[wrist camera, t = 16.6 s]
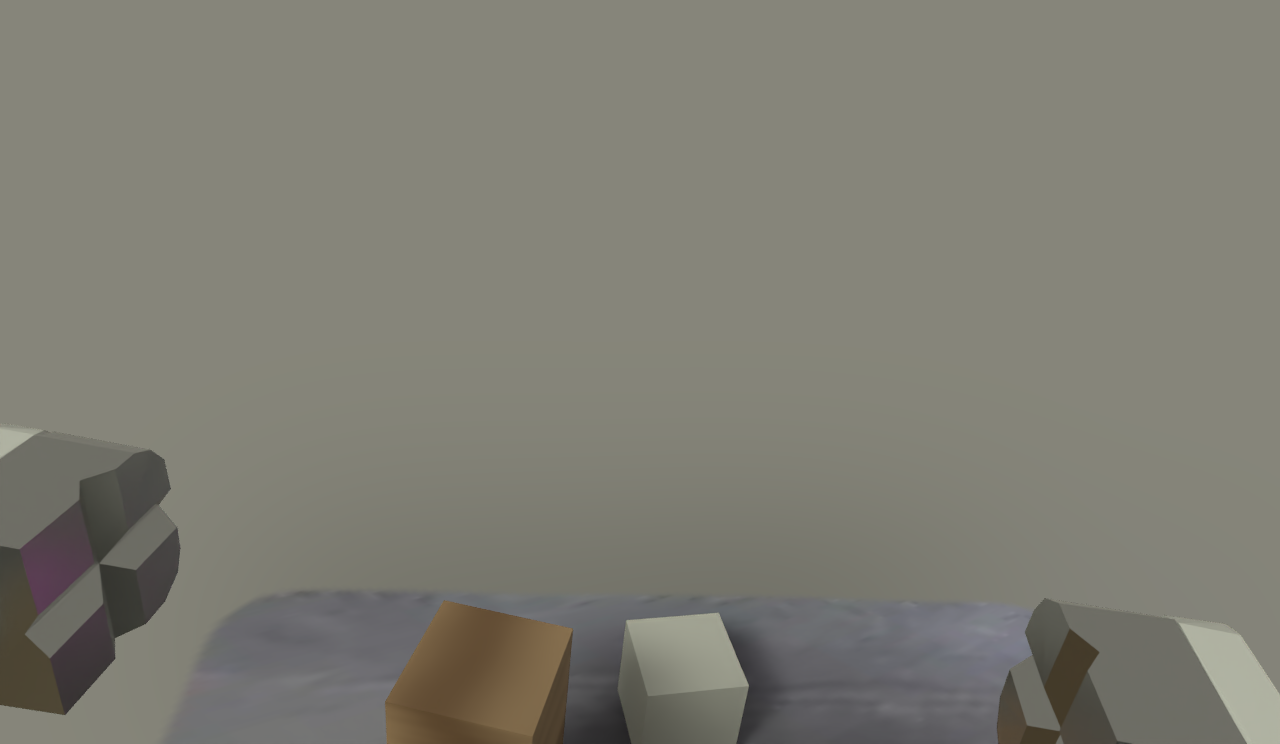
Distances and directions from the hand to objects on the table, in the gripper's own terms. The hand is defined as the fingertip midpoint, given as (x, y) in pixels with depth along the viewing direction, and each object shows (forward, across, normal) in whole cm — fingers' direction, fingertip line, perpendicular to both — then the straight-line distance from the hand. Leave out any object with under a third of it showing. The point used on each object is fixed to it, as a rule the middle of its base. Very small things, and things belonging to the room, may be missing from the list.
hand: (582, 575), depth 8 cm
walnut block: (+16, +5, +27) cm, 32 cm away
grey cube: (+27, -2, +32) cm, 42 cm away
